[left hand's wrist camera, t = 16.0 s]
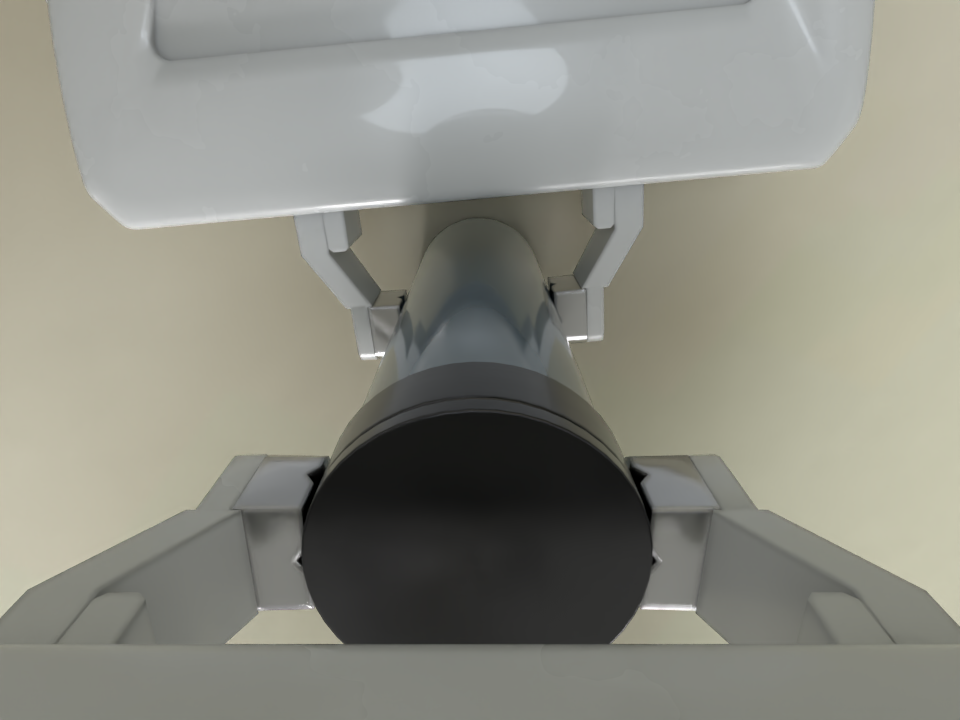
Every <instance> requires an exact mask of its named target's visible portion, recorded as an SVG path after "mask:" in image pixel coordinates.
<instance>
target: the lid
mask: <svg viewBox="0 0 960 720" xmlns="http://www.w3.org/2000/svg"><path fill="white" fill-rule="evenodd" d="M301 556H302V567H303V573H304V577H305V581H306V585H307V588H308V591H309V593H310V596H311V598H312V600H313V603H314V605H315V607H316V609H317V610H318V612H319V614H320V615H321V617H322V619H323V620H324V622H325V623H326V624H327V626H328V627H329V628H330V629H331V630H332V632H333V633H334V634H335V635H336V637H337V638H338V639H340V640H341V641H342V642H343V643H344V644H611V643H612V642H613V641H614V640H615V639H616V638H617V637H618V636H619V635H620V634H621V633H622V632H623V630H624V629H625V628H626V626H627V625H628V624H629V622H630V621H631V619H632V618H633V617H634V615H635V613H636V611H637V609H638V608H639V606H640V604H641V602H642V600H643V598H644V595H645V592H646V589H647V586H648V583H649V579H650V574H651V568H652V562H653V540H652V533H651V527H650V522H649V519H648V516H647V513H646V510H645V507H644V504H643V502H642V499H641V497H640V495H639V492H638V490H637V487H636V485H635V483H634V480H633V478H632V475H631V473H630V471H629V468H628V466H627V464H626V461H625V459H624V456H623V454H622V452H621V449H620V447H619V445H618V443H617V441H616V439H615V437H614V435H613V433H612V431H611V430H610V428H609V427H608V425H607V424H606V423H605V421H604V420H603V418H602V417H601V416H600V415H599V414H598V413H597V411H596V410H595V409H594V408H593V407H592V406H591V405H590V404H589V403H588V402H587V401H585V400H584V399H583V398H582V397H580V396H579V395H578V394H577V393H575V392H574V391H573V390H571V389H570V388H568V387H566V386H565V385H563V384H561V383H559V382H558V381H556V380H554V379H552V378H550V377H547V376H545V375H543V374H540V373H538V372H536V371H532V370H529V369H525V368H522V367H518V366H514V365H508V364H501V363H495V362H462V363H451V364H446V365H442V366H437V367H432V368H429V369H426V370H423V371H420V372H417V373H414V374H411V375H409V376H407V377H405V378H403V379H401V380H399V381H397V382H395V383H393V384H391V385H390V386H388V387H387V388H385V389H384V390H382V391H381V392H379V393H378V394H377V395H375V396H374V397H373V398H372V399H371V400H370V401H368V402H367V403H366V404H365V405H364V406H363V407H362V408H361V409H360V410H359V411H358V412H357V414H356V415H355V416H354V417H353V418H352V420H351V421H350V422H349V423H348V425H347V427H346V428H345V430H344V432H343V433H342V435H341V436H340V438H339V441H338V443H337V445H336V447H335V450H334V452H333V454H332V457H331V459H330V461H329V463H328V466H327V468H326V470H325V473H324V475H323V477H322V480H321V482H320V484H319V486H318V489H317V491H316V493H315V496H314V498H313V500H312V503H311V505H310V507H309V510H308V512H307V515H306V520H305V524H304V528H303V532H302V545H301Z"/></svg>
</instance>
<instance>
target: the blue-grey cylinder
mask: <svg viewBox="0 0 960 720" xmlns="http://www.w3.org/2000/svg"><path fill="white" fill-rule="evenodd" d="M462 362H495V363H501V364H508V365H514V366H518V367H522V368H525V369H529V370H532V371H536V372H538V373H540V374H543V375H545V376H547V377H550V378H552V379H554V380H556V381H558V382H559V383H561V384H563V385H565V386H566V387H568V388H570V389H571V390H573V391H574V392H575V393H577V394H578V395H579V396H580V397H582V398H583V399H584V400H585V401H587V402H588V403H589V404H590V405H591V406H592V407H593V404H592V402H591V399H590V397H589V394H588V391H587V389H586V386H585V384H584V381H583V378H582V376H581V373H580V371H579V368H578V366H577V363H576V360H575V358H574V355H573V353H572V350H571V347H570V345H569V342H568V340H567V337H566V335H565V332H564V329H563V327H562V324H561V322H560V319H559V316H558V314H557V311H556V309H555V306H554V304H553V301H552V298H551V296H550V293H549V291H548V288H547V285H546V283H545V280H544V278H543V275H542V273H541V270H540V267H539V265H538V262H537V260H536V257H535V254H534V252H533V250H532V248H531V247H530V245H529V244H528V242H527V241H526V240H525V238H524V237H523V236H522V235H521V234H520V233H518V232H517V231H516V230H515V229H513V228H512V227H510V226H509V225H507V224H504V223H502V222H500V221H496V220H493V219H487V218H472V219H466V220H462V221H459V222H457V223H454V224H452V225H450V226H448V227H447V228H445V229H444V230H443V231H441V232H440V233H439V234H438V235H437V236H436V237H435V238H434V239H433V240H432V242H431V243H430V245H429V246H428V248H427V250H426V252H425V254H424V256H423V259H422V261H421V264H420V266H419V269H418V271H417V274H416V276H415V278H414V281H413V283H412V286H411V288H410V291H409V293H408V296H407V298H406V301H405V303H404V306H403V308H402V311H401V313H400V316H399V318H398V320H397V323H396V325H395V328H394V330H393V333H392V335H391V338H390V340H389V343H388V345H387V348H386V350H385V353H384V355H383V358H382V360H381V362H380V365H379V367H378V370H377V372H376V375H375V377H374V380H373V382H372V385H371V387H370V390H369V392H368V395H367V397H366V399H365V402H364V404H363V406H364V405H365V404H366V403H367V402H368V401H370V400H371V399H372V398H373V397H374V396H375V395H377V394H378V393H379V392H381V391H382V390H384V389H385V388H387V387H388V386H390V385H391V384H393V383H395V382H397V381H399V380H401V379H403V378H405V377H407V376H409V375H411V374H414V373H417V372H420V371H423V370H426V369H429V368H432V367H437V366H442V365H446V364H451V363H462ZM593 408H594V407H593Z"/></svg>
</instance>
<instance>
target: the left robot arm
mask: <svg viewBox="0 0 960 720" xmlns="http://www.w3.org/2000/svg"><path fill="white" fill-rule="evenodd" d="M624 459H625V461H626V464H627V466H628V468H629V471H630V473H631V475H632V478H633V480H634V483H635V485H636V487H637V490H638V492H639V495H640V497H641V499H642V502H643V504H644V507H645V510H646V513H647V516H648V519H649V522H650V527H651V533H652V540H653V562H652V568H651V574H650V579H649V583H648V586H647V589H646V592H645V595H644V598H643V600H642V602H641V604H640V606H639V607H640V609H659V610H696V614H697V615H698V616H700V617H701V618H702V619H703V620H704V621H705V622H706V623H707V624H708V625H709V626H710V627H712V628H713V629H714V630H715V631H716V632H717V633H718V634H719V635H720V636H721V637H722V638H724V639H725V640H726V641H727V642H728V643H729V644H225V643H226V642H227V641H228V640H230V639H231V638H232V637H233V636H234V635H235V634H236V633H237V632H238V631H239V630H241V629H242V628H243V627H244V626H245V625H246V624H247V623H248V622H249V621H251V620H252V619H253V618H254V617H255V616H256V615H257V614H258V610H294V609H314V608H315V605H314V603H313V600H312V598H311V596H310V593H309V591H308V588H307V585H306V581H305V577H304V573H303V567H302V556H301V545H302V532H303V528H304V524H305V520H306V515H307V512H308V510H309V507H310V505H311V503H312V500H313V498H314V496H315V493H316V491H317V489H318V486H319V484H320V482H321V480H322V477H323V475H324V473H325V470H326V468H327V466H328V463H329V461H330V458H329V456H298V455H267V454H263V455H238V456H235V457H234V458H233V459H232V461H231V462H230V463H229V465H228V466H227V467H226V469H225V470H224V471H223V473H222V474H221V476H220V477H219V478H218V480H217V481H216V482H215V484H214V485H213V486H212V488H211V489H210V491H209V492H208V493H207V495H206V496H205V497H204V499H203V500H202V502H201V503H200V504H199V506H198V507H197V508H196V510H185V511H183V512H181V513H179V514H177V515H175V516H173V517H171V518H169V519H167V520H165V521H163V522H161V523H159V524H157V525H155V526H153V527H151V528H149V529H147V530H145V531H143V532H141V533H139V534H137V535H135V536H133V537H131V538H129V539H127V540H125V541H123V542H121V543H119V544H117V545H115V546H113V547H111V548H109V549H107V550H106V551H104V552H102V553H100V554H98V555H96V556H94V557H92V558H90V559H88V560H86V561H84V562H82V563H80V564H78V565H76V566H74V567H72V568H70V569H68V570H66V571H64V572H62V573H60V574H58V575H56V576H54V577H52V578H50V579H48V580H46V581H44V582H42V583H40V584H38V585H36V586H34V587H32V588H30V589H28V590H27V591H26V592H25V593H24V594H23V595H22V596H21V597H20V598H19V599H18V600H17V601H16V602H15V603H14V604H13V606H12V607H11V608H10V609H9V610H8V611H7V612H6V613H5V614H4V615H3V616H2V617H1V618H0V720H960V627H959V625H958V624H957V623H956V622H955V621H954V620H953V619H952V618H951V617H950V616H949V615H948V614H947V613H946V612H945V611H944V609H943V608H942V607H941V606H940V605H939V604H938V603H937V602H936V601H935V600H934V599H933V598H932V597H931V596H930V595H929V593H928V592H927V591H925V590H923V589H921V588H920V587H918V586H916V585H914V584H912V583H910V582H908V581H906V580H904V579H902V578H900V577H898V576H896V575H894V574H892V573H890V572H888V571H886V570H884V569H882V568H880V567H878V566H877V565H875V564H873V563H871V562H869V561H867V560H865V559H863V558H861V557H859V556H857V555H855V554H853V553H851V552H849V551H847V550H845V549H843V548H841V547H839V546H837V545H835V544H834V543H832V542H830V541H828V540H826V539H824V538H822V537H820V536H818V535H816V534H814V533H812V532H810V531H808V530H806V529H804V528H802V527H800V526H798V525H796V524H794V523H792V522H791V521H789V520H787V519H785V518H783V517H781V516H779V515H777V514H775V513H773V512H771V511H769V510H758V509H757V507H756V506H755V505H754V503H753V502H752V500H751V499H750V498H749V496H748V495H747V493H746V492H745V491H744V489H743V488H742V487H741V485H740V484H739V482H738V481H737V480H736V478H735V477H734V475H733V474H732V473H731V471H730V470H729V469H728V467H727V466H726V464H725V463H724V462H723V460H722V459H721V457H719V456H717V455H715V454H709V455H674V456H634V457H625V458H624Z"/></svg>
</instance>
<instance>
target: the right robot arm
mask: <svg viewBox="0 0 960 720" xmlns="http://www.w3.org/2000/svg"><path fill="white" fill-rule="evenodd" d="M46 2H47V4H48V13H49V20H50V27H51V35H52V42H53V48H54V55H55V61H56V67H57V73H58V78H59V83H60V88H61V93H62V98H63V104H64V109H65V113H66V118H67V122H68V127H69V131H70V136H71V140H72V144H73V148H74V152H75V156H76V160H77V164H78V168H79V171H80V174H81V177H82V180H83V183H84V186H85V188H86V190H87V192H88V194H89V195H90V197H91V198H92V199H93V200H94V201H95V202H97V203H98V204H99V205H100V206H101V207H102V208H103V209H104V210H105V211H106V212H107V213H109V214H110V215H111V216H112V217H113V218H114V219H115V220H117V221H118V222H119V223H120V224H121V225H123V226H124V227H126V228H128V229H135V230H137V229H150V228H161V227H172V226H183V225H194V224H205V223H216V222H227V221H238V220H250V219H261V218H272V217H283V216H294V221H295V226H296V231H297V236H298V241H299V246H300V251H301V256H302V257H303V258H304V260H305V261H306V262H307V263H308V264H309V265H310V267H311V268H312V269H313V270H314V271H315V272H316V274H317V275H318V276H319V277H320V278H321V280H322V281H323V282H324V283H325V284H326V285H327V287H328V288H329V289H330V290H331V291H332V292H333V294H334V295H335V296H336V297H337V298H338V300H339V301H340V302H341V303H342V304H343V305H344V307H345V308H346V309H351V313H352V319H353V325H354V330H355V336H356V342H357V347H358V353H359V356H360V358H361V360H377V359H380V358H383V355H384V353H385V350H386V348H387V345H388V343H389V340H390V338H391V335H392V333H393V330H394V328H395V325H396V323H397V320H398V318H399V316H400V313H401V311H402V308H403V306H404V303H405V301H406V298H407V292H406V290H391V291H381V289H380V288H379V286H378V285H377V284H376V282H375V281H374V280H373V278H372V277H371V276H370V274H369V273H368V272H367V270H366V269H365V268H364V266H363V265H362V264H361V262H360V261H359V260H358V258H357V257H356V256H355V254H354V253H353V251H352V250H351V249H350V246H351V245H352V244H353V243H354V242H355V241H356V240H357V239H358V238H359V237H360V236H361V235H362V230H361V223H360V217H359V210H361V209H372V208H383V207H394V206H405V205H416V204H427V203H439V202H450V201H461V200H472V199H483V198H494V197H505V196H516V195H527V194H539V193H550V192H561V191H572V190H581V198H582V215H583V216H584V217H585V218H586V219H587V220H588V221H589V222H590V223H591V224H592V225H593V226H595V227H596V229H595V231H594V233H593V235H592V237H591V239H590V241H589V243H588V245H587V246H586V248H585V250H584V252H583V254H582V256H581V258H580V260H579V262H578V264H577V266H576V268H575V270H574V272H573V274H574V275H566V276H557V277H548V291H549V293H550V296H551V298H552V301H553V304H554V306H555V309H556V311H557V314H558V316H559V319H560V322H561V324H562V327H563V329H564V332H565V335H566V337H567V340H568V342H569V343H581V342H593V341H602V340H603V337H604V287H608V286H609V284H610V282H611V281H612V279H613V277H614V276H615V274H616V272H617V270H618V269H619V267H620V265H621V264H622V262H623V260H624V258H625V257H626V255H627V253H628V252H629V250H630V248H631V247H632V245H633V243H634V241H635V240H636V238H637V236H638V235H639V233H640V231H641V229H642V228H643V209H644V184H650V183H661V182H672V181H683V180H694V179H705V178H716V177H727V176H739V175H750V174H761V173H772V172H783V171H794V170H804V169H814V168H817V167H820V166H822V165H823V164H825V163H826V162H827V161H828V159H829V158H830V157H831V156H832V155H833V154H834V153H835V152H836V150H837V149H838V148H839V147H840V145H841V144H842V143H843V142H844V140H845V139H846V138H847V136H848V135H849V134H850V132H851V131H852V130H853V129H854V127H855V126H856V124H857V122H858V120H859V118H860V114H861V110H862V107H863V103H864V97H865V91H866V84H867V78H868V69H869V61H870V52H871V42H872V32H873V20H874V8H875V0H46Z"/></svg>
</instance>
